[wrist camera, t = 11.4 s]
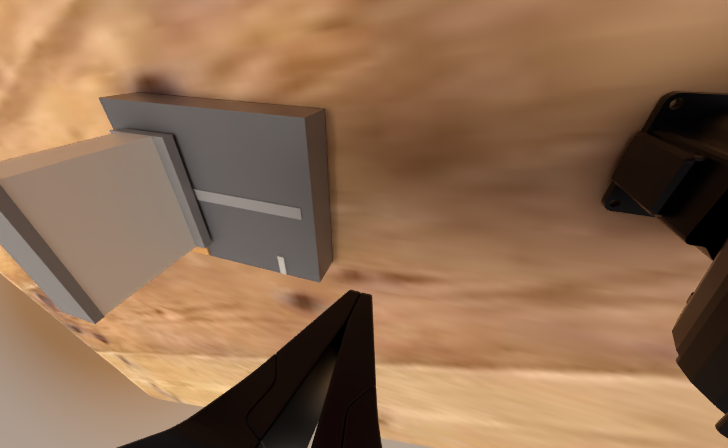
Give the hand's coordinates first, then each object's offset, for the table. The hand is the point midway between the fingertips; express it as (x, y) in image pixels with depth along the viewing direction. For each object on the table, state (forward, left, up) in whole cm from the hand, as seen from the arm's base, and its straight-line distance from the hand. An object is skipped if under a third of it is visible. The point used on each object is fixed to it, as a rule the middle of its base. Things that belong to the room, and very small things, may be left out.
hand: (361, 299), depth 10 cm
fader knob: (+20, +3, -9) cm, 22 cm away
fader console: (+15, +3, -12) cm, 19 cm away
